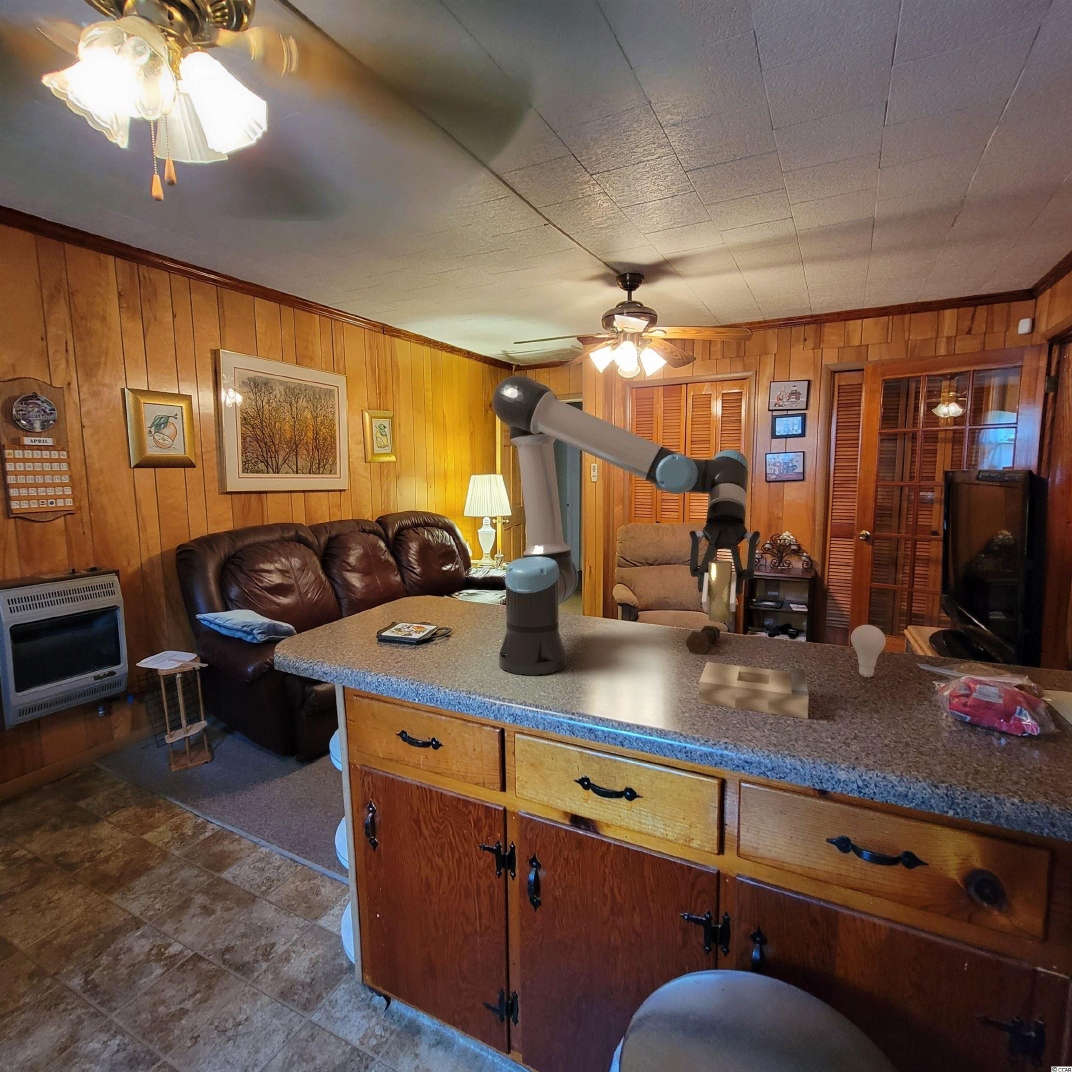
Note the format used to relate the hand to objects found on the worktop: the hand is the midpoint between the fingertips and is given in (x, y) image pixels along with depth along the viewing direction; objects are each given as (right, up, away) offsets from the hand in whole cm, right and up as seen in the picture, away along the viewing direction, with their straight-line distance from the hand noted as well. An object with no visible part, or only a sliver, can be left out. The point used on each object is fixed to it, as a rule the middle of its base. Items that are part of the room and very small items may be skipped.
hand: (718, 606), depth 100 cm
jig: (+7, -18, +3) cm, 19 cm away
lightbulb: (+35, -17, +14) cm, 41 cm away
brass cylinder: (+2, -3, +4) cm, 5 cm away
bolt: (+9, -15, +36) cm, 40 cm away
